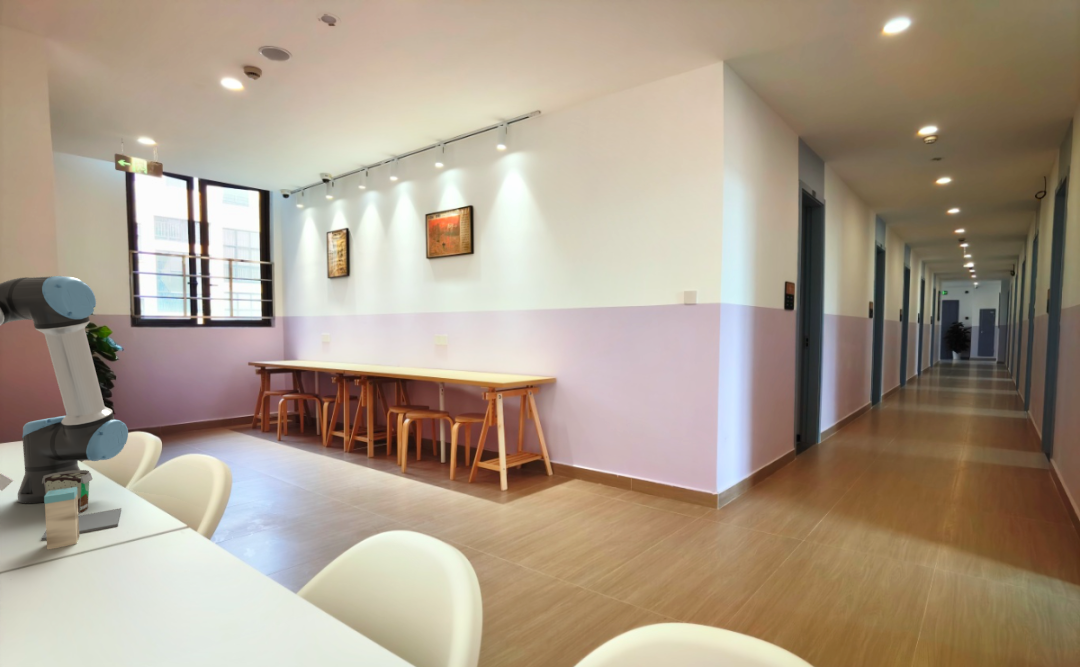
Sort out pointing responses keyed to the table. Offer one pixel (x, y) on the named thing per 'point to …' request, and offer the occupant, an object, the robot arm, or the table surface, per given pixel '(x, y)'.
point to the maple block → (61, 517)
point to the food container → (70, 484)
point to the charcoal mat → (96, 521)
